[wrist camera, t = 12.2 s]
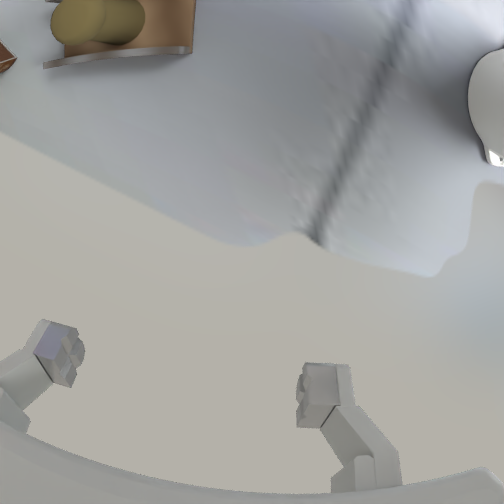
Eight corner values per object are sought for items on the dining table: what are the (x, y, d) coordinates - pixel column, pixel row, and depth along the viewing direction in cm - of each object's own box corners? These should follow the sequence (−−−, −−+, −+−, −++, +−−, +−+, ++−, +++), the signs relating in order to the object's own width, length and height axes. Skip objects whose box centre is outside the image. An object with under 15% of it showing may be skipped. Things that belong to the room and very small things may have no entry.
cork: (100, 51, 28) (44, 60, 20) (95, 6, 25) (38, 1, 16) (148, 38, 28) (101, 38, 19) (143, -9, 24) (95, -25, 16)
